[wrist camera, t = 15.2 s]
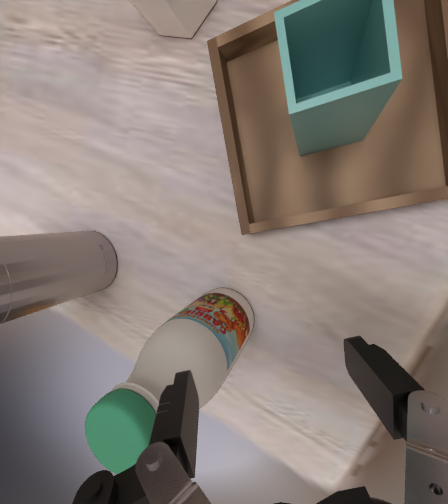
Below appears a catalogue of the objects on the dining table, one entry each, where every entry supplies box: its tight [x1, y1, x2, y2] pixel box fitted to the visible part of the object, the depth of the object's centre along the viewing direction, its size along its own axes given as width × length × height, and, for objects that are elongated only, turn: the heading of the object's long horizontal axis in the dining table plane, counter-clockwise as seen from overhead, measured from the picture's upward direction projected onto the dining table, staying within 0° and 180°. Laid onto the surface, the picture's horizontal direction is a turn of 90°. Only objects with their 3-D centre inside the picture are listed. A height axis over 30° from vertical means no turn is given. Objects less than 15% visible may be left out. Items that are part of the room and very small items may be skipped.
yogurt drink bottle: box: [85, 288, 254, 474], centre depth 24 cm, size 8×8×20 cm
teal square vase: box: [274, 0, 402, 156], centre depth 20 cm, size 6×6×12 cm
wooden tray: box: [207, 0, 448, 235], centre depth 25 cm, size 20×20×4 cm
